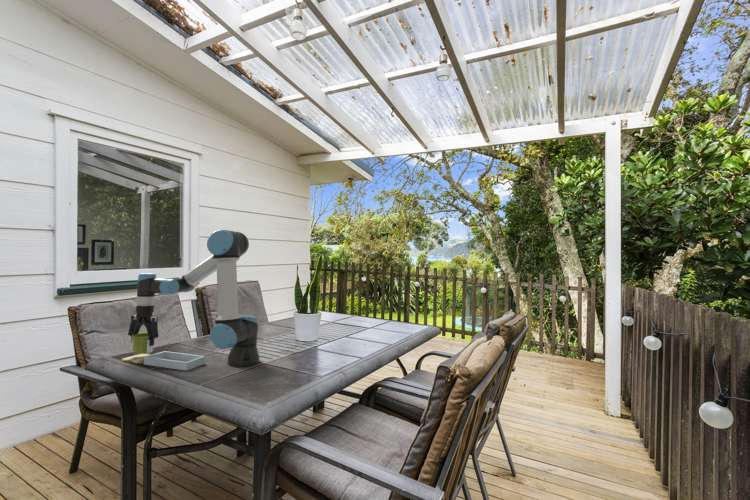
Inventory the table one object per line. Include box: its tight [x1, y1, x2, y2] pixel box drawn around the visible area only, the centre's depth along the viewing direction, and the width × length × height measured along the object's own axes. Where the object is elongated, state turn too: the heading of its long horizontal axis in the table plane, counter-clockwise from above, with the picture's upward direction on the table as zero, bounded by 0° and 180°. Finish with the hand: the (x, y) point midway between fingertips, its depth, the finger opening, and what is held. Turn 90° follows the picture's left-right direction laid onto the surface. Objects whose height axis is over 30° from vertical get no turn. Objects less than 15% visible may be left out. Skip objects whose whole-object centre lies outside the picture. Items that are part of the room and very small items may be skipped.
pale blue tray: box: [143, 350, 206, 371], centre depth 175 cm, size 24×12×4 cm, turn 76°
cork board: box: [120, 353, 152, 365], centre depth 180 cm, size 12×12×1 cm
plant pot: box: [131, 332, 149, 355], centre depth 180 cm, size 9×9×9 cm
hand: (142, 351), depth 180 cm, fingers closed on plant pot, 8 cm apart
